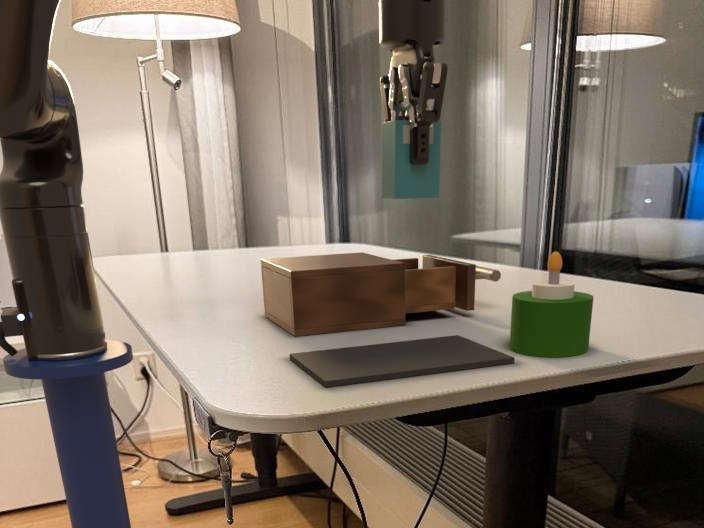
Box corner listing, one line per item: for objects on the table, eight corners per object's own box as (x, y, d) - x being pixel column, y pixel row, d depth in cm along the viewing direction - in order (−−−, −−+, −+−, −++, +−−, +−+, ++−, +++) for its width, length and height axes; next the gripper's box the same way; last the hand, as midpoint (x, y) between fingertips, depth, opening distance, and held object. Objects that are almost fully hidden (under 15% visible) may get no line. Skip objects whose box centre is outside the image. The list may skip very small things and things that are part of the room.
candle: (605, 351, 76) (616, 252, 72) (541, 360, 73) (548, 258, 69) (554, 336, 83) (562, 245, 79) (494, 344, 80) (499, 250, 76)
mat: (325, 387, 66) (325, 381, 66) (289, 359, 76) (289, 353, 76) (514, 363, 72) (514, 357, 72) (457, 340, 83) (457, 334, 83)
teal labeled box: (395, 198, 87) (395, 120, 84) (381, 198, 91) (381, 122, 87) (439, 197, 89) (441, 120, 86) (424, 196, 93) (425, 122, 89)
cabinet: (363, 307, 104) (362, 252, 101) (405, 325, 91) (405, 262, 88) (264, 316, 99) (260, 259, 96) (294, 336, 87) (290, 271, 84)
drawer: (463, 292, 108) (465, 252, 106) (512, 306, 97) (514, 261, 94) (343, 303, 102) (341, 260, 100) (379, 319, 90) (378, 271, 88)
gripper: (358, 9, 86) (360, 165, 93) (409, -18, 74) (407, 164, 81) (414, 12, 89) (413, 165, 96) (473, -13, 77) (466, 163, 84)
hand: (410, 163), depth 88 cm, fingers closed on teal labeled box, 4 cm apart
